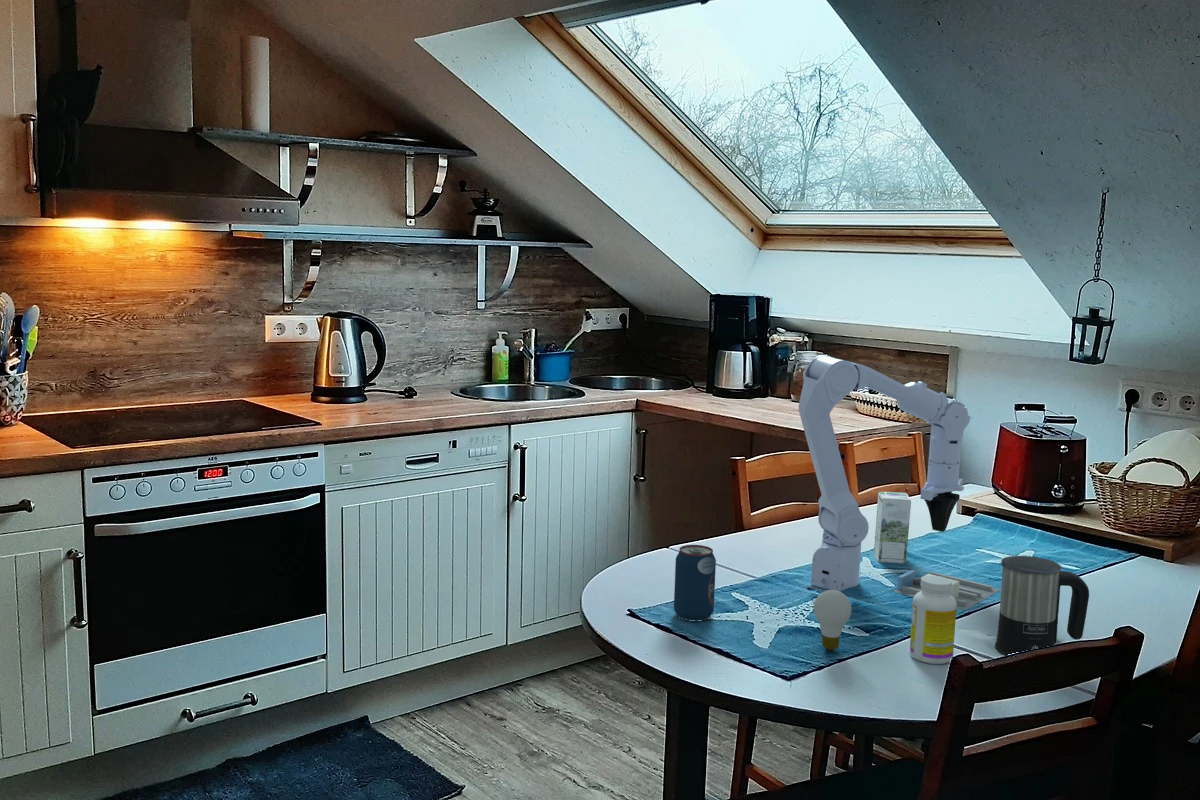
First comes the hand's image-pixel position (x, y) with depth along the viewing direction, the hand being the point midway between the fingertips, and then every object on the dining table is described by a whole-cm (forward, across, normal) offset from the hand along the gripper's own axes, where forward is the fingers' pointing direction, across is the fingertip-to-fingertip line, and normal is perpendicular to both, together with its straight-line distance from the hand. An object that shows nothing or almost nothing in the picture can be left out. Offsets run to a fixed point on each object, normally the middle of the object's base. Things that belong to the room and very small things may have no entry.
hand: (938, 530), depth 208 cm
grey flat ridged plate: (+10, -6, -5) cm, 13 cm away
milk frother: (+11, -20, -24) cm, 33 cm away
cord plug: (+9, -10, -5) cm, 14 cm away
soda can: (+11, -49, +22) cm, 55 cm away
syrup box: (+11, +5, +12) cm, 17 cm away
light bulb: (+11, -46, -3) cm, 47 cm away
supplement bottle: (+11, -37, -16) cm, 42 cm away
